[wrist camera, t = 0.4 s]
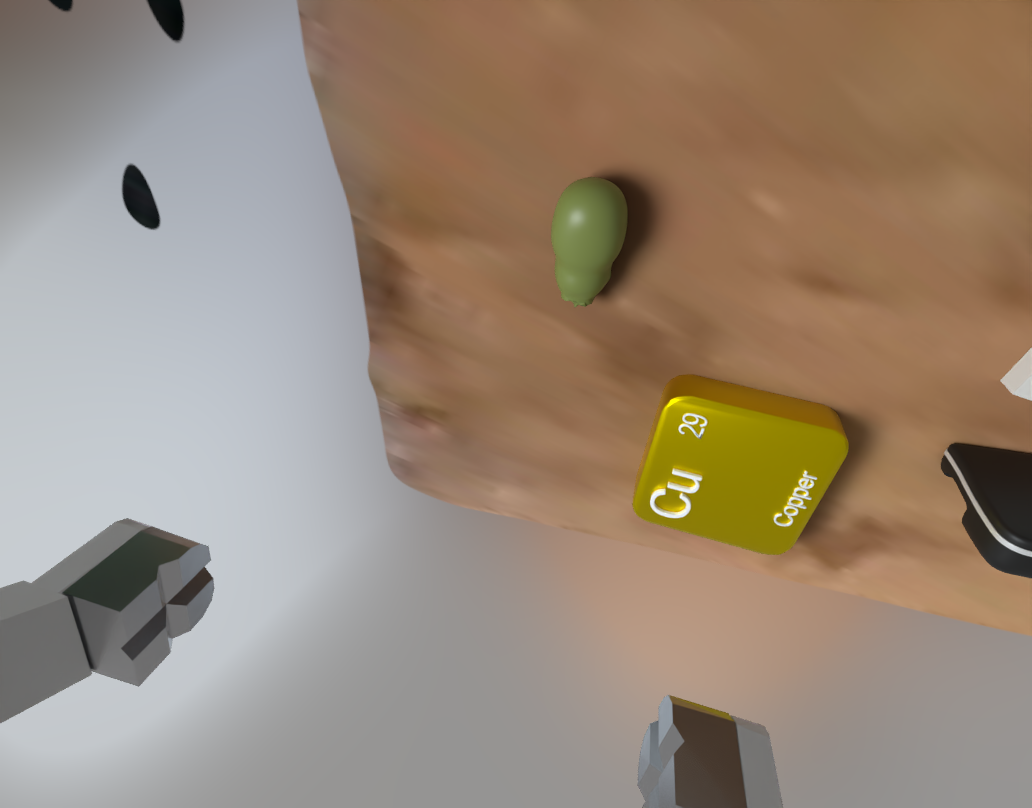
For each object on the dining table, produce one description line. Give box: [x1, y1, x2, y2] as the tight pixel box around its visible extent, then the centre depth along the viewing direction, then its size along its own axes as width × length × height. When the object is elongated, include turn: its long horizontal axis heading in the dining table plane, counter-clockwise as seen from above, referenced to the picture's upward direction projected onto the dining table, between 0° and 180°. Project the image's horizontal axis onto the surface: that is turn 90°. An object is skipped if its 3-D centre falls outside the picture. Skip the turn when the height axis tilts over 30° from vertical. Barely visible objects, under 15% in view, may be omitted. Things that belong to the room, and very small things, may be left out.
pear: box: [551, 177, 628, 307], centre depth 43 cm, size 6×5×10 cm
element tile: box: [632, 375, 849, 555], centre depth 50 cm, size 15×15×5 cm
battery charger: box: [941, 444, 1032, 578], centre depth 41 cm, size 7×4×11 cm, turn 90°
